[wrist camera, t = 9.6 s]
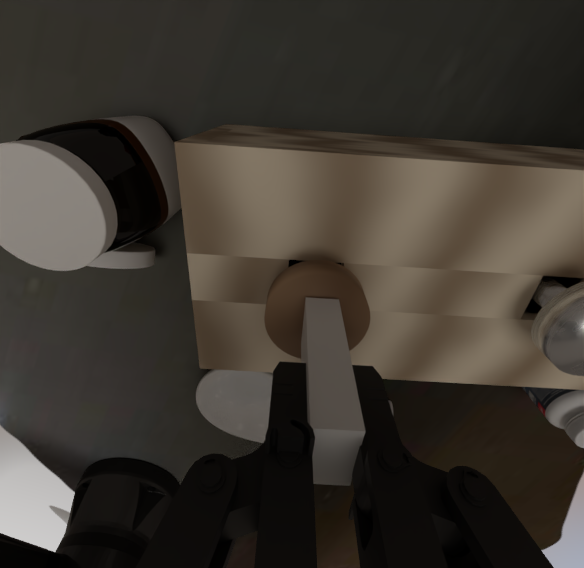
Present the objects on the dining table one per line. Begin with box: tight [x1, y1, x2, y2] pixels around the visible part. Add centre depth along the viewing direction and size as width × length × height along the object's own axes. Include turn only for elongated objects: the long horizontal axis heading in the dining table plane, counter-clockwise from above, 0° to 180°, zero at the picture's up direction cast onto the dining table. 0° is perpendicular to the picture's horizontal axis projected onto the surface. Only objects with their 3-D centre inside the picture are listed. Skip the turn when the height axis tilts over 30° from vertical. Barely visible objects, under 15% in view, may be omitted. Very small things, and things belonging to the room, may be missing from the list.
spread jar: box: [0, 116, 182, 271], centre depth 23 cm, size 12×11×12 cm
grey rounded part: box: [531, 276, 584, 376], centre depth 21 cm, size 5×5×14 cm
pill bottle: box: [522, 387, 584, 448], centre depth 33 cm, size 5×5×9 cm
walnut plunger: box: [264, 260, 370, 359], centre depth 21 cm, size 5×5×14 cm
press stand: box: [174, 124, 584, 390], centre depth 23 cm, size 28×14×12 cm, turn 86°
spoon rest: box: [196, 369, 393, 443], centre depth 37 cm, size 24×12×7 cm, turn 74°
